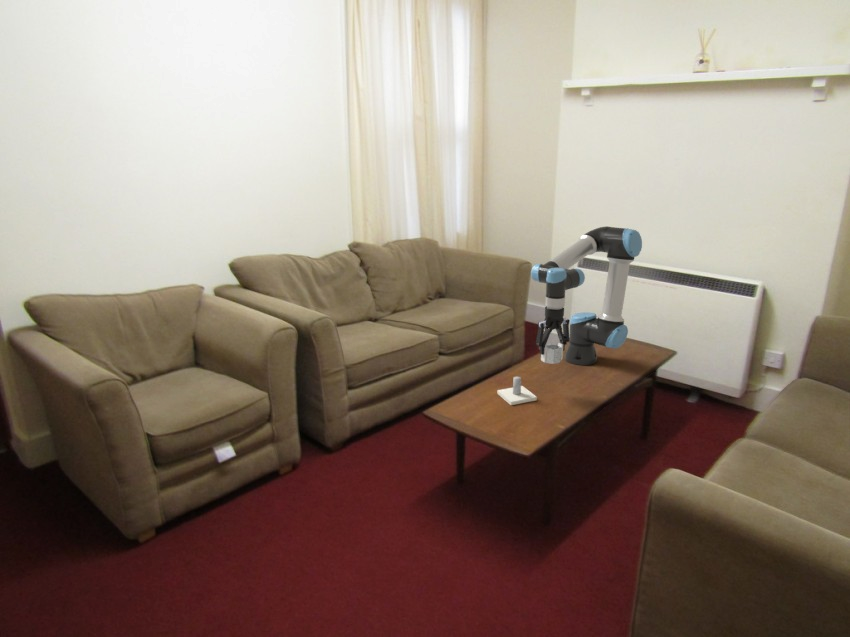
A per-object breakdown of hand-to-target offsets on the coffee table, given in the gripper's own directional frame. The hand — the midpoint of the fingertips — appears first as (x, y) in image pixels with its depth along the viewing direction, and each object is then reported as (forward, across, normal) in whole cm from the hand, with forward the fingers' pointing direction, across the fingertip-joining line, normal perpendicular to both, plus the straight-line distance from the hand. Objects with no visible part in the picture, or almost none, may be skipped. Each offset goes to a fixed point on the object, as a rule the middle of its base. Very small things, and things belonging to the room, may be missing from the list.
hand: (551, 359), depth 234 cm
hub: (0, 0, 0) cm, 0 cm away
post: (+15, +14, -3) cm, 21 cm away
